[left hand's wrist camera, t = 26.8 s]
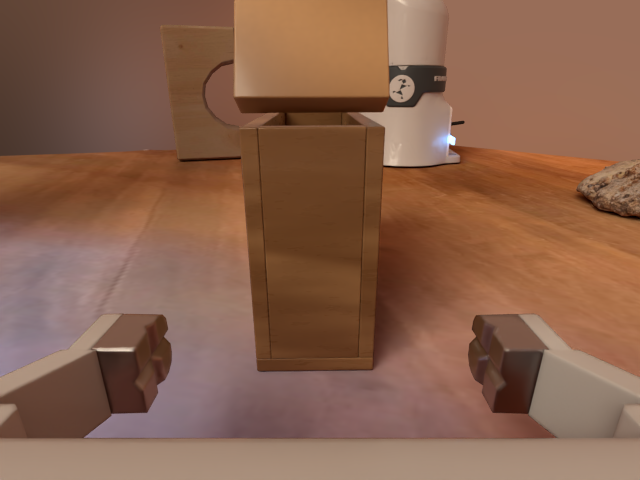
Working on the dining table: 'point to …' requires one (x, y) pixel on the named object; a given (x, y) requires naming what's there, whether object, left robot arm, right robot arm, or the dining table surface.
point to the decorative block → (198, 90)
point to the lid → (311, 56)
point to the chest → (313, 237)
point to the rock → (615, 188)
